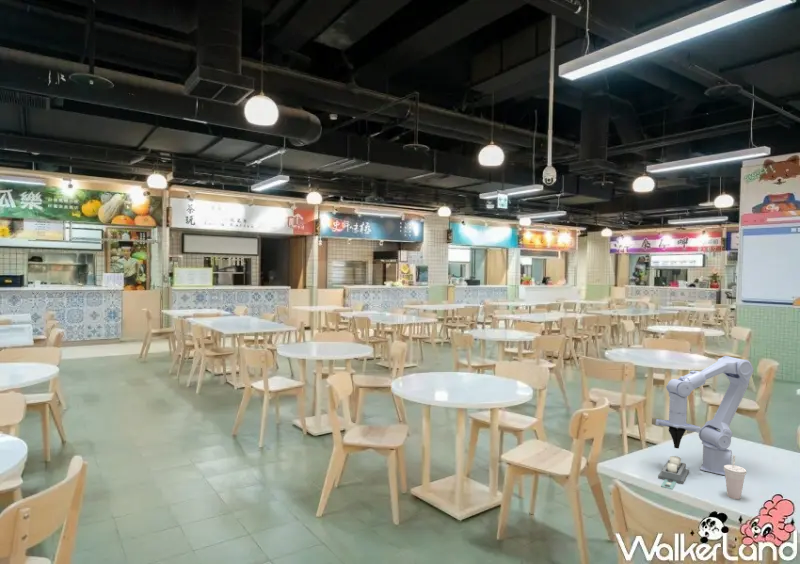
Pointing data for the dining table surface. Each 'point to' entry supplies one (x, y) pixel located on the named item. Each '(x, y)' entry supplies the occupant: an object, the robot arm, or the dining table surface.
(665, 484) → the card
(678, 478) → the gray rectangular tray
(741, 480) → the smoothie
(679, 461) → the button
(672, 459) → the button mid
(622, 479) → the dining table surface
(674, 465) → the button
